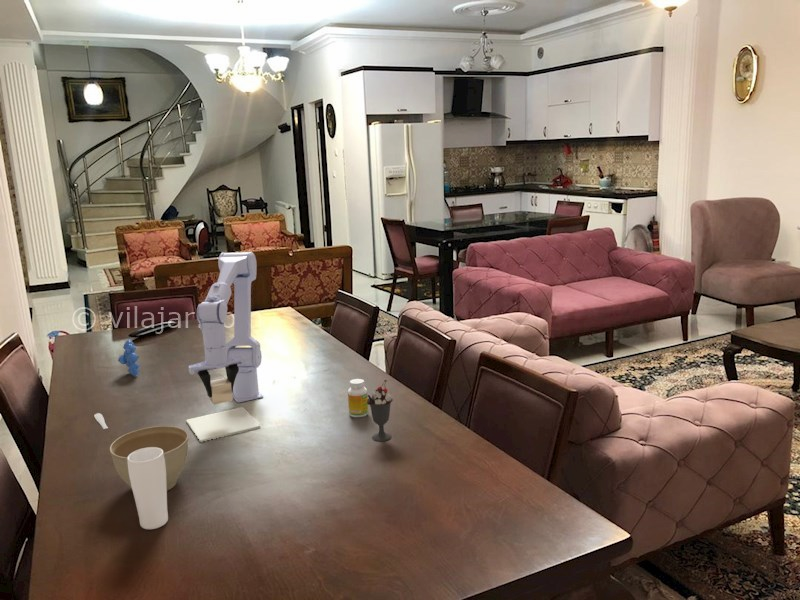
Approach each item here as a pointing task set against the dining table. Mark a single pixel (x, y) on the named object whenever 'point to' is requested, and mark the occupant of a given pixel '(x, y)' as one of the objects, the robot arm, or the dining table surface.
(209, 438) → the pad
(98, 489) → the dining table surface
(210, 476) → the dining table surface
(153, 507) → the drinking glass
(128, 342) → the grapes
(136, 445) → the planter bowl
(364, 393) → the supplement bottle
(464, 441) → the dining table surface
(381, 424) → the sundae
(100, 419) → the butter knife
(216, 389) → the cube
